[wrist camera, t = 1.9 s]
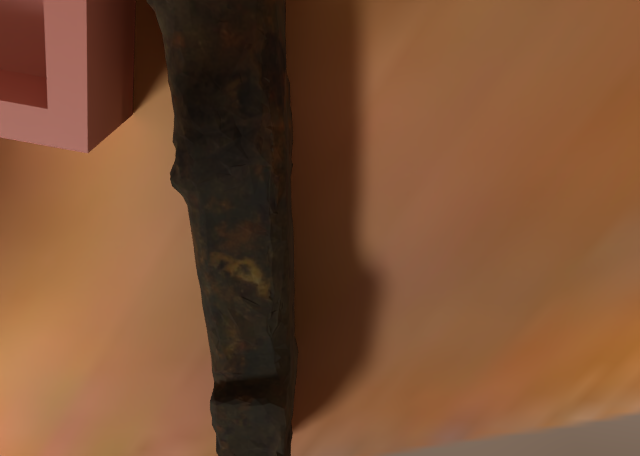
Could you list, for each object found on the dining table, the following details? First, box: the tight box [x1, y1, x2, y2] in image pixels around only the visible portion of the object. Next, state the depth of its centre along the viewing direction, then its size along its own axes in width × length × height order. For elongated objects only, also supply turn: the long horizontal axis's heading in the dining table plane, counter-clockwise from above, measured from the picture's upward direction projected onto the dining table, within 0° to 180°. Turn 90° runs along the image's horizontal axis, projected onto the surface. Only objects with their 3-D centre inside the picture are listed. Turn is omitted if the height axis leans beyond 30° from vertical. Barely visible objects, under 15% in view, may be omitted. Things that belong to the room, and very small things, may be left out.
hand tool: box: [146, 0, 298, 456], centre depth 19 cm, size 19×4×5 cm, turn 179°
